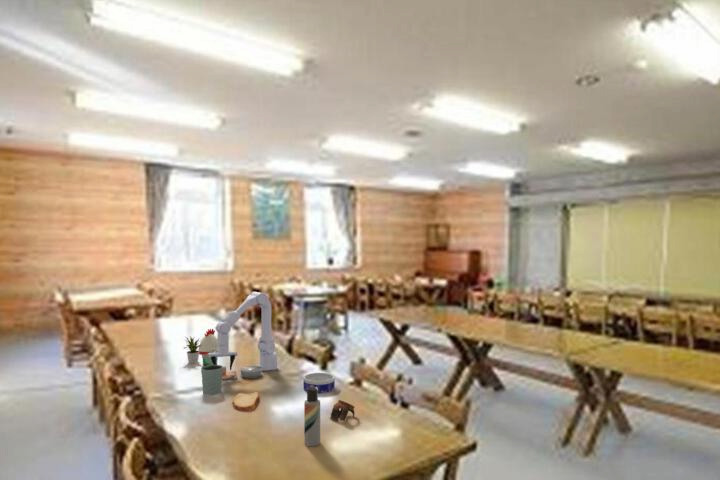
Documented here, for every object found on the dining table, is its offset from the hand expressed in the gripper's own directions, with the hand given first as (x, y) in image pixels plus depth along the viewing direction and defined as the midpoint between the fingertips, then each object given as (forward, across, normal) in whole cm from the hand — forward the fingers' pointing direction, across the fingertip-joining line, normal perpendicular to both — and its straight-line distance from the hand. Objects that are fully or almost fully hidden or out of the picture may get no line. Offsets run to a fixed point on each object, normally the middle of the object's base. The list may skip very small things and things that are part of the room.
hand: (223, 370), depth 261 cm
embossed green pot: (+4, +6, +25) cm, 26 cm away
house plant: (+4, +17, -39) cm, 43 cm away
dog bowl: (+4, -44, +35) cm, 56 cm away
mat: (+4, +1, -1) cm, 4 cm away
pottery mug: (+4, -44, +78) cm, 90 cm away
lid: (+3, 0, 0) cm, 3 cm away
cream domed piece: (+4, +6, -64) cm, 64 cm away
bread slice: (+4, -9, +46) cm, 47 cm away
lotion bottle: (+4, -27, +98) cm, 102 cm away
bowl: (+4, -14, +2) cm, 15 cm away
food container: (+4, +5, -17) cm, 18 cm away
